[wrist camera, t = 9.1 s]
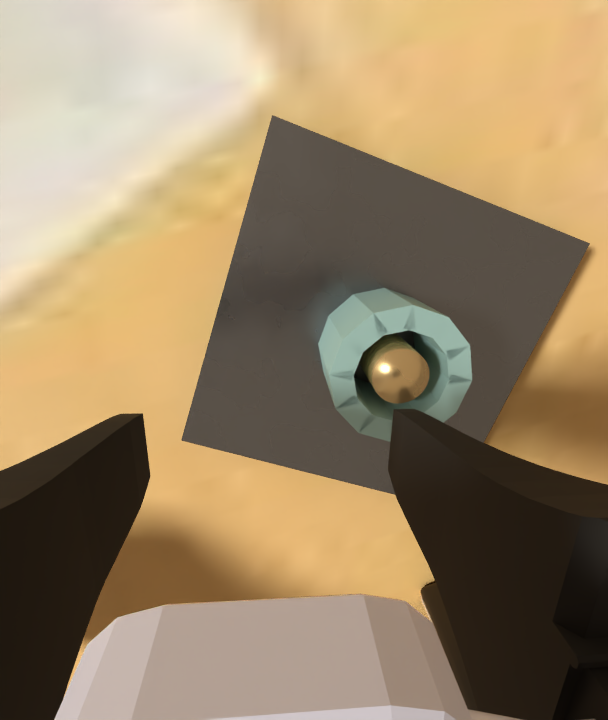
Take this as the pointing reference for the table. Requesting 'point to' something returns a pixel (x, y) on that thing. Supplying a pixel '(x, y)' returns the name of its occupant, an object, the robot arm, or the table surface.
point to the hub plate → (356, 275)
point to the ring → (367, 325)
